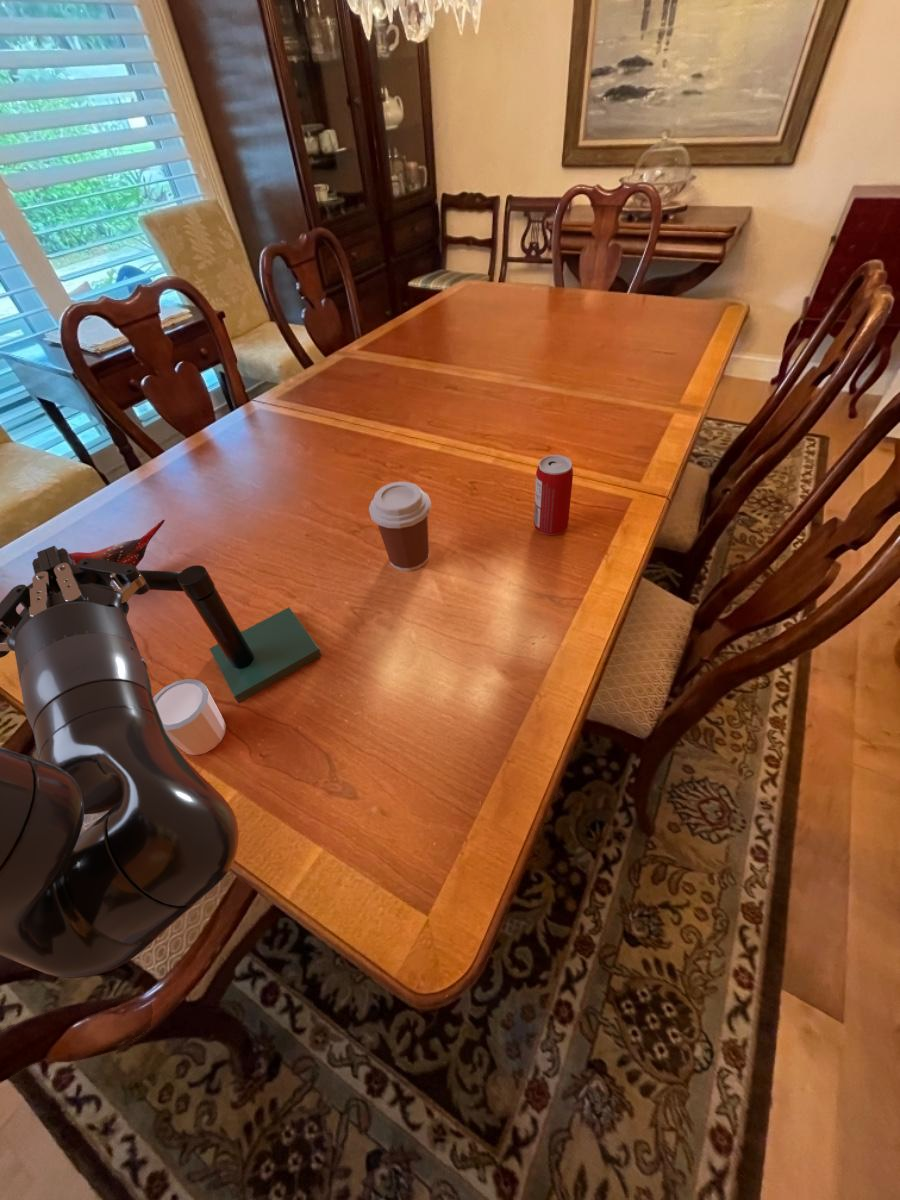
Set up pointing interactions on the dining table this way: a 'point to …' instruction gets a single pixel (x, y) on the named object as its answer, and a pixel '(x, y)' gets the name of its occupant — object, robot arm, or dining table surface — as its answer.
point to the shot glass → (190, 716)
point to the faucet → (255, 647)
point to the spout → (181, 581)
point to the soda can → (553, 494)
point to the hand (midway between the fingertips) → (51, 556)
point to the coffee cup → (403, 523)
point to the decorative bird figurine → (121, 550)
